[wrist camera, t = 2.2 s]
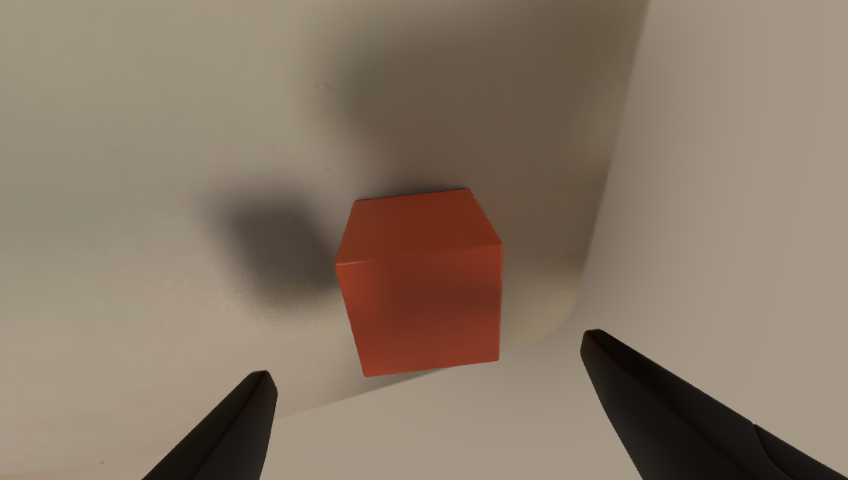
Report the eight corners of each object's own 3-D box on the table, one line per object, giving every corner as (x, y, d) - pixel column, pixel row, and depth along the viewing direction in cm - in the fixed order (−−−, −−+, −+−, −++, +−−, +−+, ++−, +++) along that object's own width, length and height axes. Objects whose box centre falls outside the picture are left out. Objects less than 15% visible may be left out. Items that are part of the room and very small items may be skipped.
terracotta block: (471, 281, 16) (499, 361, 12) (373, 293, 16) (364, 378, 12) (469, 187, 14) (504, 243, 9) (353, 200, 14) (333, 263, 9)
